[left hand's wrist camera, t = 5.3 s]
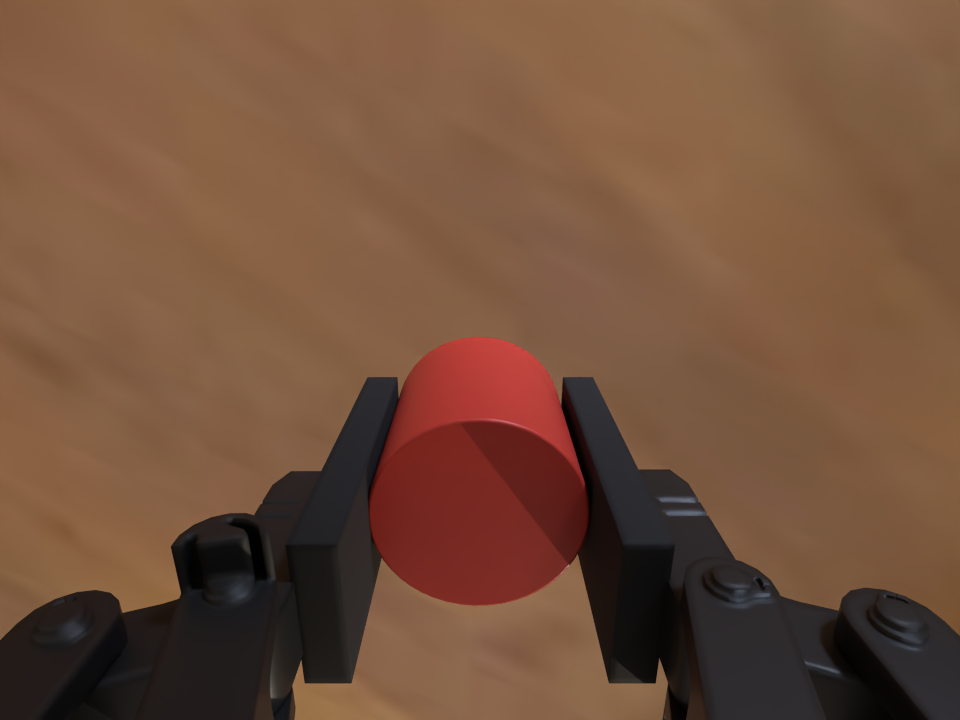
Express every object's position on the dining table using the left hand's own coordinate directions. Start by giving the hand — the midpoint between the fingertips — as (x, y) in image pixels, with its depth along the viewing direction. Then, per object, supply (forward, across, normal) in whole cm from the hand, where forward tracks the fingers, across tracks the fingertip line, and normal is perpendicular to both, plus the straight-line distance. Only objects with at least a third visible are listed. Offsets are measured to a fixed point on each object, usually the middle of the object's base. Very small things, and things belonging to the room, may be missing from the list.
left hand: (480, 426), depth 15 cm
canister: (0, 0, 0) cm, 0 cm away
